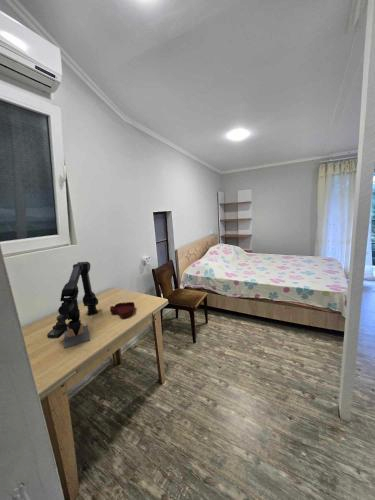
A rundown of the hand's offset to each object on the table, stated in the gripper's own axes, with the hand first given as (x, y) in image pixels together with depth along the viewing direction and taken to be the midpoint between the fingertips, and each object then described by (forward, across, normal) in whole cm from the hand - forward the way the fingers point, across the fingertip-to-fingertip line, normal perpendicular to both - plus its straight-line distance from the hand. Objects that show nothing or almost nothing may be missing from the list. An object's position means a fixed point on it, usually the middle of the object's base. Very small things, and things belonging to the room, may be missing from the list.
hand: (76, 331), depth 123 cm
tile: (+2, 0, 0) cm, 2 cm away
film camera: (+3, -10, -9) cm, 14 cm away
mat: (+3, +1, 0) cm, 3 cm away
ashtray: (+3, -14, +32) cm, 35 cm away
